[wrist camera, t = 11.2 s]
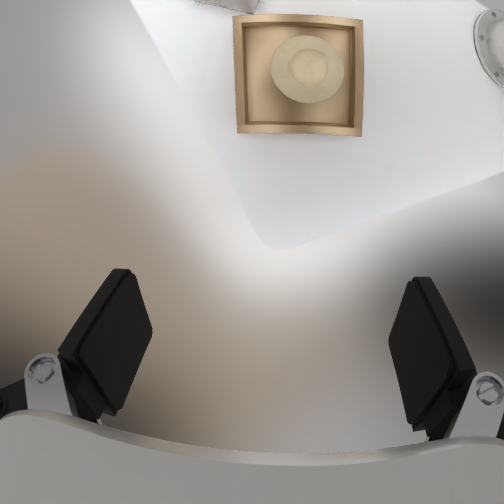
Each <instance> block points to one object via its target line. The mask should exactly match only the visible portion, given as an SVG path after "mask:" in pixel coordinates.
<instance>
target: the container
mask: <svg viewBox="0 0 504 504" xmlns="http://www.w3.org/2000/svg"><path fill="white" fill-rule="evenodd" d="M193 1H195V2H201V3H206V4H211V5H216V6H221V7H225V8H230V9H234V10H238V11H242V12H246V13H249V14H252V13H254V11H255V9H256V6H257V4H258V2H259V0H193Z"/></svg>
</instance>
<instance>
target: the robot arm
mask: <svg viewBox="0 0 504 504" xmlns="http://www.w3.org/2000/svg"><path fill="white" fill-rule="evenodd" d="M474 39H475V46H476V49H477V53H478V56H479V58H480V61H481V63H482V65H483V66H484V68H485V70H486V71H487V73H488V74H489V76H490V77H491V78H492V79H493V80H494V81H495V82H496V83H497V84H498V85H500V86H501V87H503V88H504V12H503V11H500V10H488V11H485V12H483V13H482V14H480V16H479V17H478V18H477V21H476V23H475V29H474ZM151 337H152V326H151V323H150V320H149V317H148V314H147V311H146V308H145V305H144V302H143V299H142V295H141V292H140V289H139V285H138V282H137V278H136V276H135V274H133V273H132V272H131V271H130V270H129V269H114V270H112V271H111V273H110V274H109V275H108V277H107V278H106V280H105V281H104V282H103V284H102V285H101V286H100V288H99V289H98V291H97V292H96V294H95V295H94V296H93V298H92V299H91V301H90V302H89V304H88V305H87V307H86V308H85V310H84V311H83V312H82V314H81V315H80V317H79V318H78V320H77V321H76V323H75V324H74V326H73V327H72V329H71V330H70V332H69V333H68V335H67V337H66V338H65V340H64V341H63V343H62V345H61V346H60V348H59V349H58V351H59V355H58V357H56V356H55V355H53V354H50V353H44V354H40V355H38V356H36V357H35V358H33V359H32V360H31V361H30V362H29V364H28V365H27V367H26V370H25V378H24V379H22V380H20V381H17V382H15V383H13V384H11V385H8V386H6V387H4V388H2V389H0V504H504V382H503V381H502V380H501V378H500V377H498V376H497V375H495V374H493V373H491V372H482V373H479V374H477V372H476V369H475V365H474V363H473V361H472V358H471V356H470V354H469V351H468V349H467V347H466V345H465V343H464V341H463V338H462V336H461V334H460V332H459V330H458V328H457V326H456V324H455V322H454V320H453V318H452V316H451V314H450V313H449V310H448V308H447V307H446V305H445V303H444V301H443V299H442V298H441V295H440V293H439V292H438V290H437V288H436V286H435V285H434V283H433V281H432V279H431V278H430V277H414V278H413V279H412V281H409V282H408V283H407V286H406V289H405V293H404V295H403V298H402V302H401V304H400V307H399V311H398V313H397V316H396V319H395V322H394V324H393V327H392V330H391V332H390V335H389V348H390V352H391V355H392V359H393V363H394V367H395V370H396V374H397V378H398V382H399V387H400V391H401V395H402V400H403V404H404V409H405V413H406V418H407V422H408V423H409V424H412V428H413V432H414V431H420V430H426V434H427V438H426V440H425V441H424V443H419V444H412V445H406V446H399V447H391V448H384V449H376V450H366V451H355V452H341V453H316V454H315V453H313V454H286V453H284V454H283V453H259V452H245V451H234V450H224V449H216V448H208V447H200V446H194V445H187V444H182V443H176V442H171V441H165V440H160V439H156V438H151V437H146V436H142V435H138V434H134V433H130V432H126V431H122V430H118V429H114V428H110V427H107V426H104V425H102V422H101V420H100V416H101V414H102V413H104V414H108V415H111V416H116V413H117V411H118V410H120V409H121V408H122V407H123V405H124V402H125V399H126V397H127V395H128V392H129V390H130V387H131V384H132V382H133V380H134V377H135V375H136V373H137V370H138V367H139V365H140V363H141V361H142V358H143V356H144V353H145V351H146V349H147V346H148V344H149V342H150V339H151Z"/></svg>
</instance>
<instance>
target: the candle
mask: <svg viewBox="0 0 504 504" xmlns="http://www.w3.org/2000/svg"><path fill="white" fill-rule="evenodd" d="M271 75H272V78H273V80H274V83H275V84H276V86H277V87H278V89H279V90H280V91H281V92H282V93H283V94H284V95H286V96H287V97H289V98H291V99H293V100H295V101H298V102H302V103H317V102H321V101H324V100H326V99H328V98H330V97H331V96H333V95H334V94H335V93H336V92H337V91H338V89H339V88H340V86H341V84H342V82H343V78H344V65H343V61H342V59H341V56H340V55H339V53H338V52H337V50H336V49H335V48H334V47H333V46H332V45H331V44H329V43H328V42H326V41H325V40H323V39H321V38H318V37H314V36H306V35H304V36H297V37H293V38H290V39H288V40H286V41H285V42H283V43H282V44H281V45H280V46H279V47H278V48H277V49H276V51H275V53H274V55H273V57H272V60H271Z"/></svg>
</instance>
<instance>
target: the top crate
mask: <svg viewBox="0 0 504 504" xmlns="http://www.w3.org/2000/svg"><path fill="white" fill-rule="evenodd" d="M304 35H306V36H314V37H318V38H321V39H323V40H325V41H326V42H328V43H329V44H331V45H332V46H333V47H334V48H335V49H336V50H337V52H338V53H339V55H340V56H341V59H342V61H343V65H344V78H343V82H342V84H341V86H340V88H339V89H338V91H337V92H336V93H335V94H334V95H333V96H331V97H330V98H328V99H326V100H324V101H321V102H317V103H302V102H298V101H295V100H293V99H291V98H289V97H287V96H286V95H284V94H283V93H282V92H281V91H280V90H279V89H278V87H277V86H276V84H275V83H274V80H273V78H272V75H271V60H272V57H273V55H274V53H275V51H276V49H277V48H278V47H279V46H280V45H281V44H282V43H283V42H285V41H286V40H288V39H290V38H293V37H297V36H304ZM233 41H234V67H235V91H236V114H237V133H308V134H329V135H345V136H358V137H361V136H362V117H363V86H364V47H363V20H357V19H350V18H341V17H331V16H318V15H299V14H258V15H239V16H233Z"/></svg>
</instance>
